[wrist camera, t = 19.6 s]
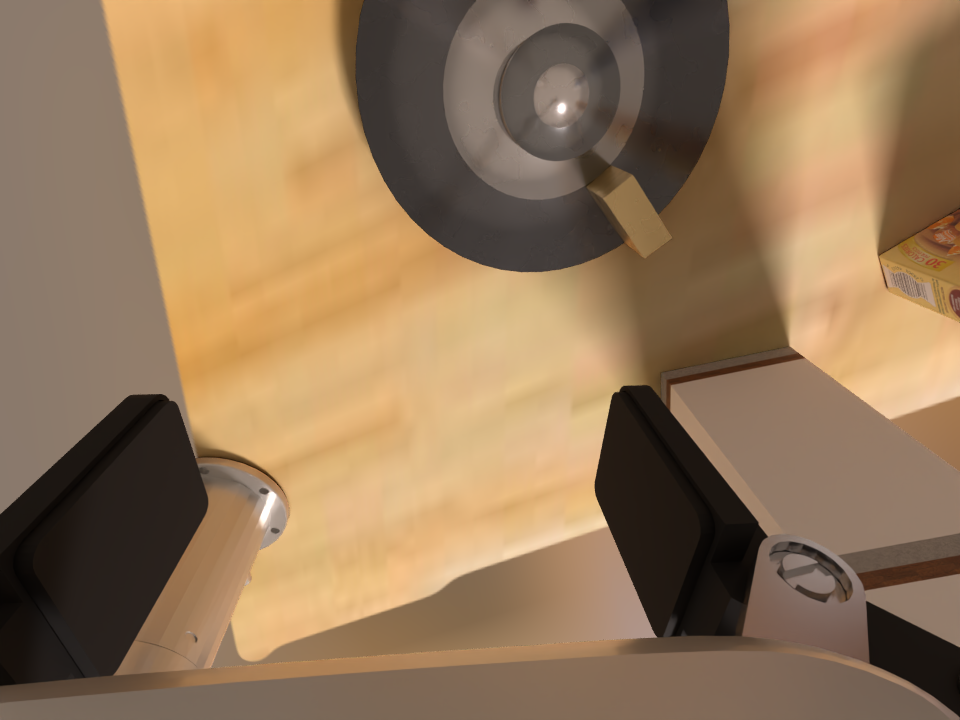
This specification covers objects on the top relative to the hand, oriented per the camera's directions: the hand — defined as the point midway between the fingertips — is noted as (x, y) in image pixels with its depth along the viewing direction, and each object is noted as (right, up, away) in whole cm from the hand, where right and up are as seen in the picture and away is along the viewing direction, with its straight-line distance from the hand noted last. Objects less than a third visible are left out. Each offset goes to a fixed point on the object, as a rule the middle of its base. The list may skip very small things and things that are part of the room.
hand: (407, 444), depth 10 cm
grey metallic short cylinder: (+5, +18, +17) cm, 25 cm away
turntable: (+5, +19, +19) cm, 28 cm away
